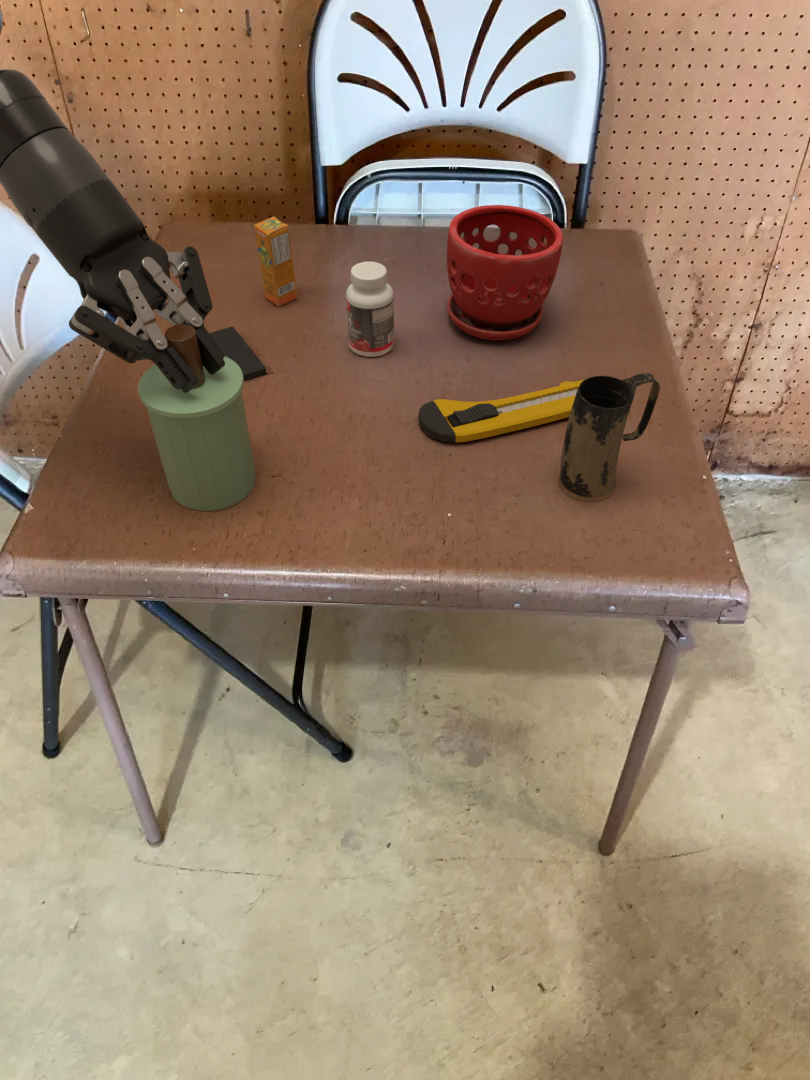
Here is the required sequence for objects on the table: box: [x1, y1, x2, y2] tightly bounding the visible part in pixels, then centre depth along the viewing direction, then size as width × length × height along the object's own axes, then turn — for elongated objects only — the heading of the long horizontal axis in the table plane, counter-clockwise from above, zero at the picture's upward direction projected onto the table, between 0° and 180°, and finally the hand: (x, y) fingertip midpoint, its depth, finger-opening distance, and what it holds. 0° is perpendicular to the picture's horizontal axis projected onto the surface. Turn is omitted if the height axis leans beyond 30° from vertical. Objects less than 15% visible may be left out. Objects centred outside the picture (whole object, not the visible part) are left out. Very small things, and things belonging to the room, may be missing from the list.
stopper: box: [137, 324, 245, 419], centre depth 73 cm, size 9×9×6 cm
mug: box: [558, 372, 661, 503], centre depth 79 cm, size 8×6×12 cm
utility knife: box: [418, 375, 604, 443], centre depth 91 cm, size 7×22×2 cm, turn 111°
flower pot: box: [446, 204, 564, 341], centre depth 99 cm, size 13×13×12 cm
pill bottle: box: [345, 261, 395, 358], centre depth 96 cm, size 5×5×10 cm
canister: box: [146, 390, 257, 512], centre depth 79 cm, size 8×8×12 cm
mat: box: [208, 326, 268, 382], centre depth 97 cm, size 10×10×1 cm
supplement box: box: [253, 216, 299, 308], centre depth 103 cm, size 3×3×10 cm
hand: (205, 378), depth 73 cm, fingers closed on stopper, 2 cm apart
